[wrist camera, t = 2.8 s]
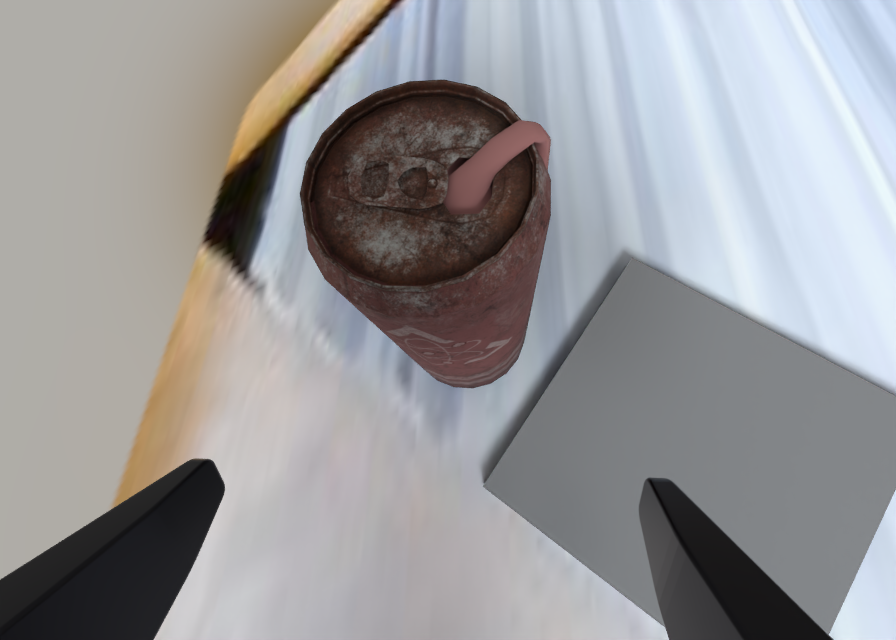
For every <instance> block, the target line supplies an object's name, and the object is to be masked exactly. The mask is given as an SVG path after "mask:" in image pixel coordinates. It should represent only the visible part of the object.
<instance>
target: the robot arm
mask: <svg viewBox="0 0 896 640" xmlns="http://www.w3.org/2000/svg"><path fill="white" fill-rule="evenodd" d="M224 492H225V484H224V482H223V480H222V478H221V475H220V473H219V471H218V469H217V467H216V465H215V463H214V462H213V461H212V460H210V459H191V460H189V461H187V462H186V463H184V464H183V465H181V466H179V467H178V468H176V469H175V470H173V471H171V472H170V473H168V474H167V475H165V476H164V477H162V478H160V479H159V480H157V481H156V482H154V483H152V484H151V485H149V486H148V487H146V488H145V489H143V490H141V491H140V492H138V493H137V494H135V495H133V496H132V497H130V498H129V499H127V500H126V501H124V502H122V503H121V504H119V505H118V506H116V507H114V508H113V509H111V510H110V511H108V512H107V513H105V514H103V515H102V516H100V517H99V518H97V519H95V520H94V521H92V522H91V523H89V524H88V525H86V526H84V527H83V528H81V529H80V530H78V531H76V532H75V533H73V534H72V535H70V536H69V537H67V538H65V539H64V540H62V541H61V542H59V543H58V544H56V545H54V546H53V547H51V548H50V549H48V550H46V551H45V552H43V553H42V554H40V555H39V556H37V557H35V558H34V559H32V560H31V561H29V562H27V563H26V564H24V565H23V566H21V567H20V568H18V569H17V570H15V571H13V572H12V573H10V574H8V575H7V576H5V577H4V578H2V579H1V580H0V640H154V638H155V636H156V634H157V632H158V631H159V629H160V627H161V625H162V623H163V621H164V619H165V618H166V616H167V614H168V612H169V610H170V608H171V606H172V605H173V603H174V601H175V599H176V597H177V595H178V593H179V592H180V590H181V588H182V586H183V584H184V582H185V580H186V578H187V577H188V575H189V573H190V571H191V569H192V567H193V565H194V562H195V560H196V558H197V556H198V554H199V551H200V549H201V547H202V544H203V542H204V540H205V537H206V535H207V533H208V531H209V528H210V526H211V524H212V521H213V519H214V517H215V514H216V512H217V510H218V507H219V505H220V503H221V500H222V498H223V496H224ZM639 518H640V523H641V528H642V532H643V537H644V542H645V546H646V551H647V556H648V560H649V565H650V569H651V574H652V579H653V583H654V588H655V592H656V597H657V601H658V605H659V608H660V612H661V615H662V618H663V622H664V625H665V628H666V631H667V634H668V637H669V640H833V639H832V638H831V637H830V636H829V635H828V634H827V633H826V632H825V631H824V630H823V629H822V628H821V627H820V626H819V625H818V624H817V623H816V622H815V621H814V620H813V619H812V618H811V617H810V616H809V615H808V614H807V613H806V612H805V611H804V610H803V609H802V608H801V607H800V606H799V605H798V604H797V603H796V602H795V601H794V600H793V599H792V598H791V597H790V596H789V595H788V594H787V593H786V592H785V591H784V590H783V589H782V588H781V587H780V586H779V585H778V584H777V583H776V582H774V581H773V580H772V579H771V578H770V577H769V576H768V575H767V574H766V573H765V572H764V571H763V570H762V569H761V568H760V567H759V566H758V565H757V564H756V563H755V562H754V561H753V560H752V559H751V558H750V557H749V556H748V555H747V554H746V553H745V552H744V551H743V550H742V549H741V548H740V547H739V546H738V545H737V544H736V543H735V542H734V541H733V540H732V539H731V538H730V537H729V536H728V535H727V534H726V533H725V532H724V531H723V530H722V529H721V528H720V527H719V526H718V525H717V524H716V523H715V522H714V521H713V520H712V519H711V518H710V517H708V516H707V515H706V514H705V513H704V512H703V511H702V510H701V509H700V508H699V507H698V506H697V505H696V504H695V503H694V502H693V501H692V500H691V499H690V498H689V497H688V496H687V495H686V494H685V493H684V492H683V491H682V490H681V489H680V488H679V487H678V486H677V485H676V484H675V483H674V482H673V481H671V480H670V479H667V478H651V477H650V478H647V479H646V480H645V482H644V485H643V490H642V494H641V498H640V502H639Z"/></svg>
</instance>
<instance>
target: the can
mask: <svg viewBox="0 0 896 640" xmlns="http://www.w3.org/2000/svg"><path fill="white" fill-rule="evenodd" d="M550 144H551V140H550V137H549V135H548V134H547V132H546V131H545V130H544V129H543V127H542V126H541V125H540V124H538V123H536V122H530V121H523V120H521V119H520V118H519V117H518V116H517V115H516V113H515V112H514V111H513V110H512V109H511V108H510V107H509V106H508V105H507V103H506V102H504V101H502V100H500V99H498V98H497V97H495V96H493V95H491V94H489V93H487V92H486V91H484V90H482V89H480V88H478V87H476V86H471V85H467V84H462V83H457V82H453V81H448V80H428V81H410V82H406V83H403V84H400V85H396V86H393V87H390V88H387V89H383V90H380V91H377V92H375V93H373V94H371V95H370V96H368V97H366V98H365V99H363V100H361V101H360V102H358V103H356V104H355V105H353V106H351V107H350V108H348V109H346V110H345V111H344V112H343V113H342V114H341V115H340V116H339V117H338V118H337V119H336V120H335V121H334V122H333V123H332V124H331V125H330V126H329V127H328V128H327V129H326V130H325V131H324V132H323V133H322V135H321V137H320V139H319V141H318V142H317V144H316V146H315V148H314V150H313V151H312V153H311V155H310V157H309V158H308V160H307V162H306V166H305V171H304V176H303V181H302V186H301V191H300V198H301V205H302V211H303V218H304V225H305V230H306V236H307V243H308V250H309V251H310V253H311V255H312V257H313V259H314V260H315V262H316V264H317V266H318V268H319V269H320V271H321V273H322V275H323V276H324V278H325V280H326V281H327V282H329V283H330V284H331V285H332V286H333V287H334V288H335V289H336V290H337V291H338V292H340V293H341V294H342V295H343V296H344V297H345V298H346V299H347V300H348V301H349V302H351V303H352V304H353V305H354V306H355V307H356V308H357V309H358V310H359V311H360V312H362V313H363V314H364V315H365V316H366V317H367V318H368V319H369V320H370V321H371V322H373V323H374V324H375V325H376V326H377V327H378V328H379V329H380V330H381V331H382V332H384V333H385V334H386V335H387V336H388V337H389V338H390V339H391V340H392V341H393V342H395V343H396V344H397V345H398V346H399V347H400V348H401V349H402V350H403V351H404V352H406V353H407V354H408V355H409V356H410V357H411V358H412V359H413V360H414V361H415V362H417V363H418V364H419V365H420V366H421V367H422V368H423V369H424V370H426V371H427V372H428V373H429V374H430V375H431V376H433V377H434V378H435V379H436V380H438V381H440V382H443V383H445V384H448V385H450V386H453V387H462V388H475V387H479V386H483V385H486V384H490V383H492V382H494V381H495V380H497V379H498V378H500V377H501V376H503V375H504V374H506V373H507V372H508V371H509V369H510V368H511V367H512V366H513V364H514V363H515V362H516V361H517V359H518V357H519V354H520V352H521V349H522V346H523V343H524V340H525V335H526V330H527V325H528V321H529V316H530V311H531V306H532V302H533V297H534V292H535V287H536V283H537V278H538V273H539V268H540V263H541V259H542V254H543V249H544V244H545V240H546V235H547V230H548V225H549V220H550V216H551V179H550V177H549V174H548V171H547V170H548V161H549V153H550Z"/></svg>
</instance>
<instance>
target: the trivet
mask: <svg viewBox="0 0 896 640" xmlns="http://www.w3.org/2000/svg"><path fill="white" fill-rule="evenodd" d="M650 477H651V478H667V479H670V480H671V481H673V482H674V483H675V484H676V485H677V486H678V487H679V488H680V489H681V490H682V491H683V492H684V493H685V494H686V495H687V496H688V497H689V498H690V499H691V500H692V501H693V502H694V503H695V504H696V505H697V506H698V507H699V508H700V509H701V510H702V511H703V512H704V513H705V514H706V515H707V516H708V517H710V518H711V519H712V520H713V521H714V522H715V523H716V524H717V525H718V526H719V527H720V528H721V529H722V530H723V531H724V532H725V533H726V534H727V535H728V536H729V537H730V538H731V539H732V540H733V541H734V542H735V543H736V544H737V545H738V546H739V547H740V548H741V549H742V550H743V551H744V552H745V553H746V554H747V555H748V556H749V557H750V558H751V559H752V560H753V561H754V562H755V563H756V564H757V565H758V566H759V567H760V568H761V569H762V570H763V571H764V572H765V573H766V574H767V575H768V576H769V577H770V578H771V579H772V580H773V581H774V582H776V583H777V584H778V585H779V586H780V587H781V588H782V589H783V590H784V591H785V592H786V593H787V594H788V595H789V596H790V597H791V598H792V599H793V600H794V601H795V602H796V603H797V604H798V605H799V606H800V607H801V608H802V609H803V610H804V611H805V612H806V613H807V614H808V615H809V616H810V617H811V618H812V619H813V620H814V621H815V622H816V623H817V624H818V625H819V626H820V627H821V628H822V629H823V630H824V631H825V632H826V633H827V634H828V635H829V633H830V631H831V628H832V626H833V624H834V622H835V620H836V618H837V615H838V613H839V611H840V609H841V607H842V605H843V602H844V600H845V598H846V596H847V594H848V592H849V589H850V587H851V585H852V583H853V581H854V579H855V576H856V574H857V572H858V570H859V568H860V566H861V563H862V561H863V559H864V557H865V555H866V553H867V550H868V548H869V546H870V544H871V542H872V540H873V537H874V535H875V533H876V531H877V529H878V527H879V524H880V522H881V520H882V518H883V516H884V513H885V511H886V509H887V507H888V505H889V503H890V500H891V498H892V496H893V494H894V492H895V490H896V396H895V395H893V394H891V393H889V392H887V391H885V390H884V389H882V388H880V387H878V386H876V385H874V384H872V383H870V382H868V381H866V380H864V379H863V378H861V377H859V376H857V375H855V374H853V373H851V372H849V371H847V370H845V369H843V368H842V367H840V366H838V365H836V364H834V363H832V362H830V361H828V360H826V359H824V358H823V357H821V356H819V355H817V354H815V353H813V352H811V351H809V350H807V349H805V348H803V347H802V346H800V345H798V344H796V343H794V342H792V341H790V340H788V339H786V338H784V337H782V336H781V335H779V334H777V333H775V332H773V331H771V330H769V329H767V328H765V327H763V326H762V325H760V324H758V323H756V322H754V321H752V320H750V319H748V318H746V317H744V316H742V315H741V314H739V313H737V312H735V311H733V310H731V309H729V308H727V307H725V306H723V305H721V304H720V303H718V302H716V301H714V300H712V299H710V298H708V297H706V296H704V295H702V294H701V293H699V292H697V291H695V290H693V289H691V288H689V287H687V286H685V285H683V284H681V283H680V282H678V281H676V280H674V279H672V278H670V277H668V276H666V275H664V274H662V273H660V272H659V271H657V270H655V269H653V268H651V267H649V266H647V265H645V264H643V263H641V262H640V261H638V260H636V259H634V258H632V259H631V260H630V262H629V263H628V264H627V266H626V267H625V269H624V271H623V272H622V274H621V275H620V277H619V278H618V280H617V281H616V283H615V284H614V286H613V287H612V289H611V290H610V292H609V294H608V295H607V297H606V298H605V300H604V301H603V303H602V304H601V306H600V307H599V309H598V310H597V312H596V313H595V315H594V316H593V318H592V320H591V321H590V323H589V324H588V326H587V327H586V329H585V330H584V332H583V333H582V335H581V336H580V338H579V339H578V341H577V343H576V344H575V346H574V347H573V349H572V350H571V352H570V353H569V355H568V356H567V358H566V359H565V361H564V362H563V364H562V365H561V367H560V369H559V370H558V372H557V373H556V375H555V376H554V378H553V379H552V381H551V382H550V384H549V385H548V387H547V388H546V390H545V392H544V393H543V395H542V396H541V398H540V399H539V401H538V402H537V404H536V405H535V407H534V408H533V410H532V411H531V413H530V414H529V416H528V418H527V419H526V421H525V422H524V424H523V425H522V427H521V428H520V430H519V431H518V433H517V434H516V436H515V437H514V439H513V441H512V442H511V444H510V445H509V447H508V448H507V450H506V451H505V453H504V454H503V456H502V457H501V459H500V460H499V462H498V463H497V465H496V467H495V468H494V470H493V471H492V473H491V474H490V476H489V477H488V479H487V480H486V482H485V483H484V485H483V487H484V488H486V489H487V490H488V491H489V492H491V493H492V494H493V495H495V496H496V497H497V498H498V499H500V500H501V501H502V502H504V503H505V504H506V505H508V506H509V507H510V508H511V509H513V510H514V511H515V512H517V513H518V514H519V515H520V516H522V517H523V518H524V519H526V520H527V521H528V522H530V523H531V524H532V525H533V526H535V527H536V528H537V529H539V530H540V531H541V532H542V533H544V534H545V535H546V536H548V537H549V538H550V539H551V540H553V541H554V542H555V543H557V544H558V545H559V546H561V547H562V548H563V549H564V550H566V551H567V552H568V553H570V554H571V555H572V556H573V557H575V558H576V559H577V560H579V561H580V562H581V563H583V564H584V565H585V566H586V567H588V568H589V569H590V570H592V571H593V572H594V573H595V574H597V575H598V576H599V577H601V578H602V579H603V580H605V581H606V582H607V583H608V584H610V585H611V586H612V587H614V588H615V589H616V590H617V591H619V592H620V593H621V594H623V595H624V596H625V597H626V598H628V599H629V600H630V601H632V602H633V603H634V604H636V605H637V606H638V607H639V608H641V609H642V610H643V611H645V612H646V613H647V614H648V615H650V616H651V617H652V618H654V619H655V620H656V621H658V622H659V623H660V624H661V625H663V626H664V627H665V625H664V622H663V618H662V615H661V612H660V608H659V605H658V601H657V597H656V592H655V588H654V583H653V579H652V574H651V569H650V565H649V560H648V556H647V551H646V546H645V542H644V537H643V532H642V528H641V523H640V518H639V502H640V498H641V494H642V490H643V485H644V482H645V480H646V479H647V478H650Z"/></svg>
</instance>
